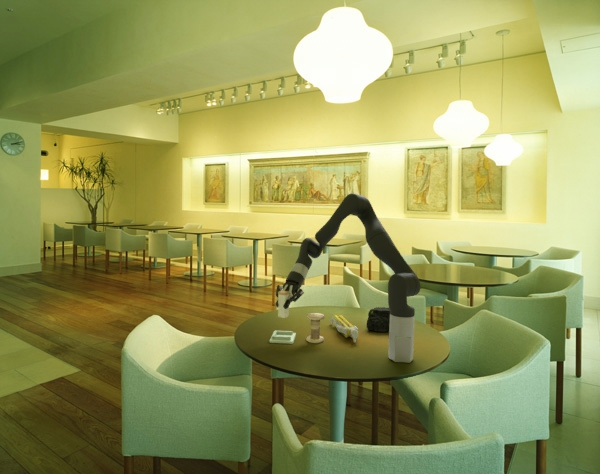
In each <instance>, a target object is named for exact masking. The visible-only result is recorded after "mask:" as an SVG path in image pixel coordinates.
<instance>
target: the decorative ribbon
mask: <svg viewBox="0 0 600 474" xmlns="http://www.w3.org/2000/svg"><path fill="white" fill-rule="evenodd" d="M339 322H340V323H339ZM329 324H330V325H333V324H334V326H335V328H336V330H337V331H338V333H339V334H340V335H342V336H343V337H344V338H348V337H349V338H352V340H353V343H356V342H357V339H358V338H359V328H358V327H357V326H356V325H353V324H352V323H351V322H349V321H348V320H347V319H346V318H345V317H344V316H343V315H342V314H341V315H340V314H338V315H336V314H333V316H332V317H331V319H330V321H329Z"/></svg>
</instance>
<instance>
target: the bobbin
mask: <svg viewBox="0 0 600 474" xmlns="http://www.w3.org/2000/svg"><path fill="white" fill-rule="evenodd" d="M306 319H309V320H310V335H308V336H306V339H305V341H306V342H308V343H311V344H320V343H321V344H322V343H323V342H324V341H325V338H324V336H321V335H320V334H321V321H322V320H324V319H325V314H323V313H319V312H310V313H307V314H306Z"/></svg>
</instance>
